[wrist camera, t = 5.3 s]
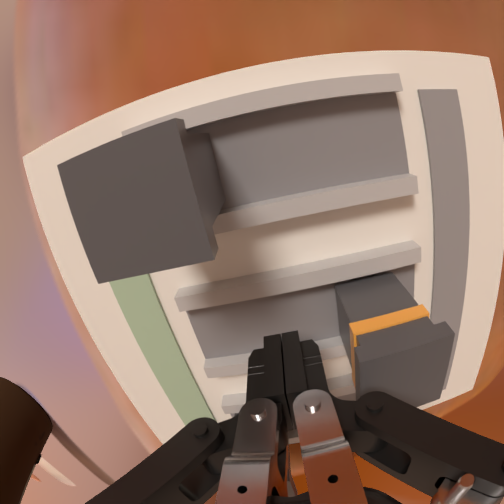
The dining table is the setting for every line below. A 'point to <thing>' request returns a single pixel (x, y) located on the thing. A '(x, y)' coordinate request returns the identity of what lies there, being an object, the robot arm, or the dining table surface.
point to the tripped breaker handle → (392, 340)
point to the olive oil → (19, 440)
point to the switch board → (276, 219)
